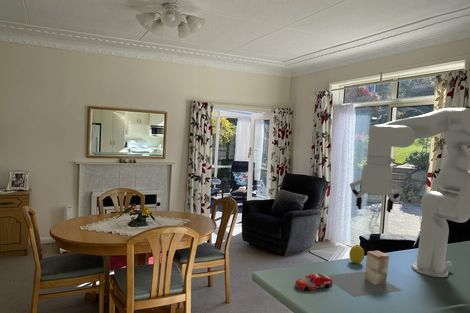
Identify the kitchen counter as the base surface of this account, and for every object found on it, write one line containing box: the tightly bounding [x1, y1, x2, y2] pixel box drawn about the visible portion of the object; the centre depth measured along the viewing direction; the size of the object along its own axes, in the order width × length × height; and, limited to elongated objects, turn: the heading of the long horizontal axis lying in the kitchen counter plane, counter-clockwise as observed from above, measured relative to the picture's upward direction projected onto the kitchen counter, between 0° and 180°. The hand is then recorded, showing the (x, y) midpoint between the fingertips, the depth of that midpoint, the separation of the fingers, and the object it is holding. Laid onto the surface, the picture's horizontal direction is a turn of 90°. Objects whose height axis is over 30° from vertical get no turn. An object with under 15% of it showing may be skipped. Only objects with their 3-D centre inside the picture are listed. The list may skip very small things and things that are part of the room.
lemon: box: [348, 244, 365, 265], centre depth 143 cm, size 6×6×8 cm
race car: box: [295, 273, 334, 292], centre depth 120 cm, size 13×5×4 cm, turn 111°
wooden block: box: [364, 250, 390, 285], centre depth 126 cm, size 5×5×10 cm
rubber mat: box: [326, 271, 402, 298], centre depth 125 cm, size 20×16×1 cm
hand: (373, 210), depth 126 cm, fingers open, 9 cm apart
